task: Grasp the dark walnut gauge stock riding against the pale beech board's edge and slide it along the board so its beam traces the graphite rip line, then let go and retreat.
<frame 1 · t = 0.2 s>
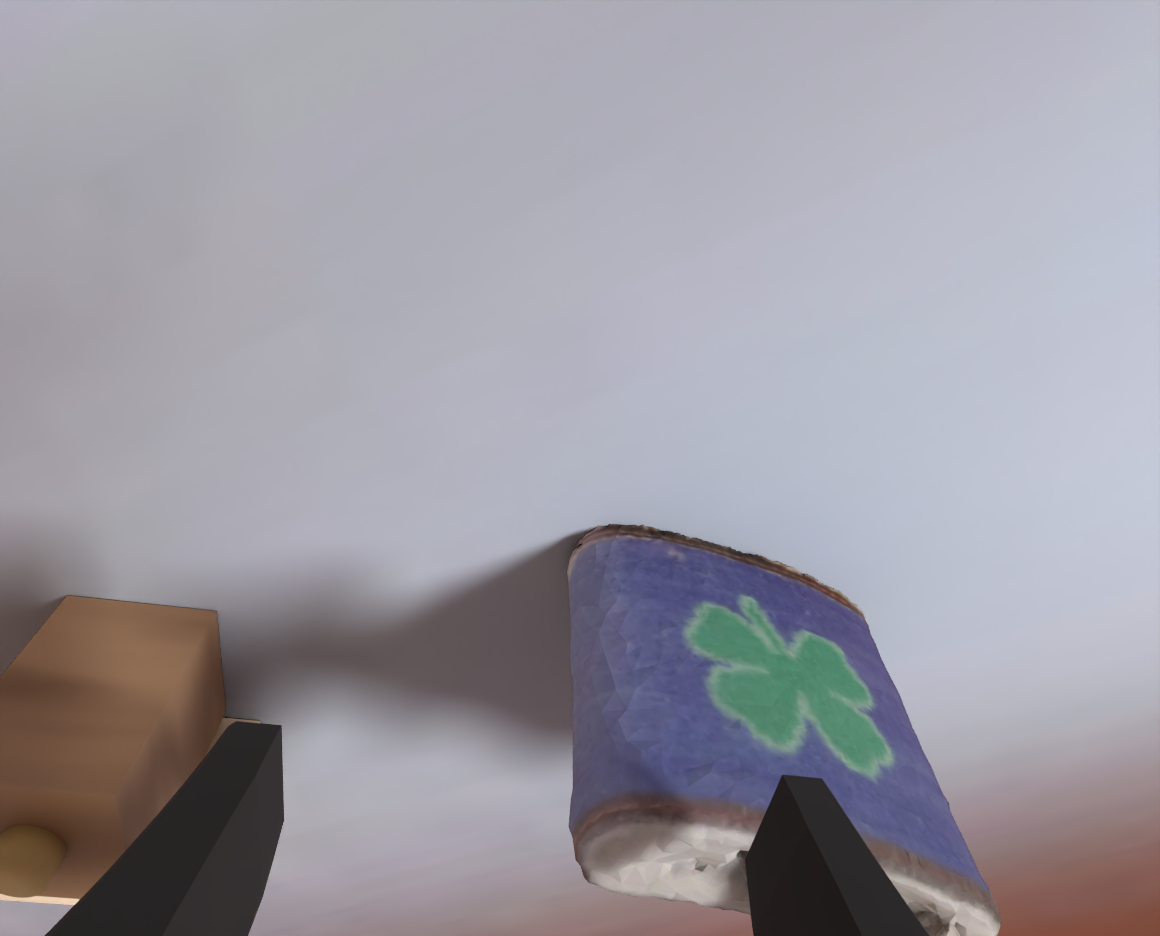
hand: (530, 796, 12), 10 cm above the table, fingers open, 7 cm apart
flask: (723, 586, 23), on the table
gauge: (110, 837, 22), point 3 cm above the table, slide at 0.0 cm
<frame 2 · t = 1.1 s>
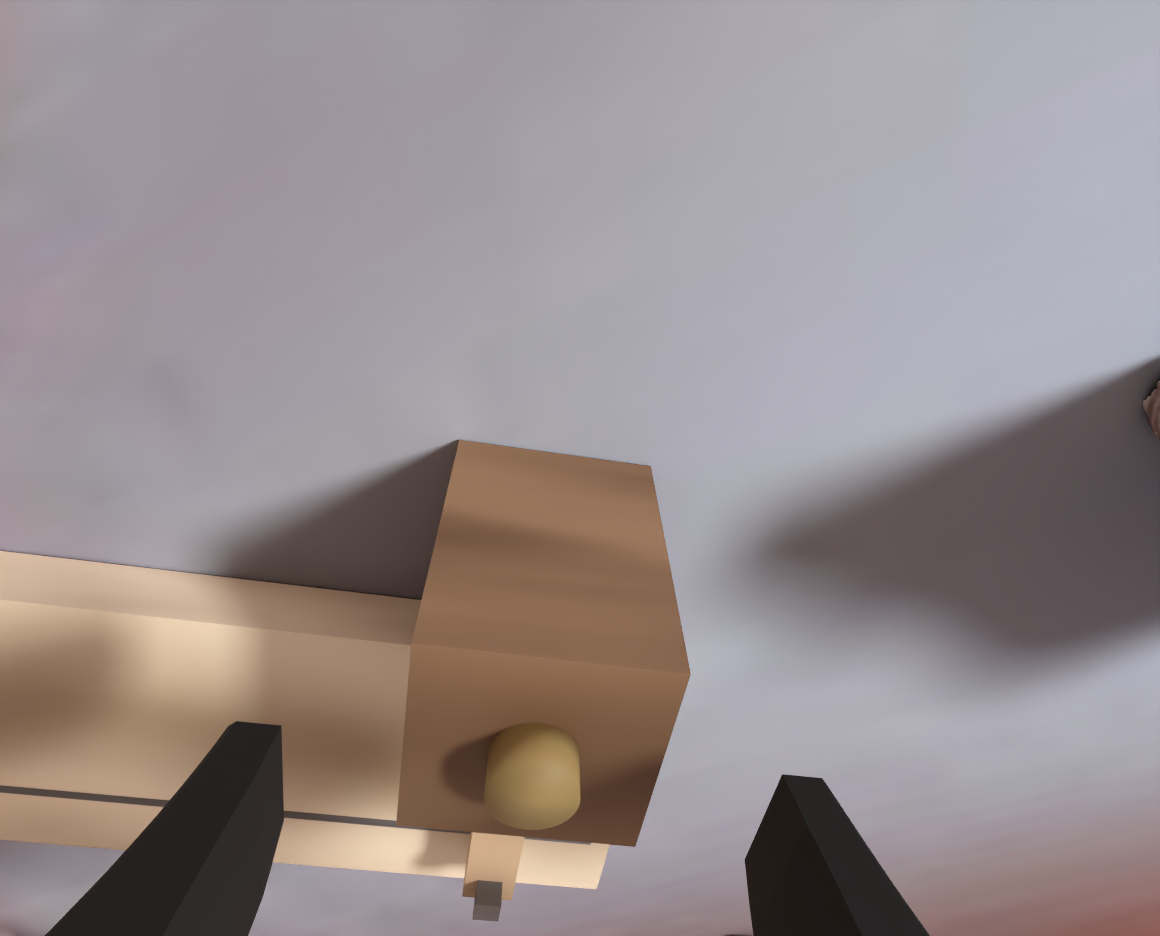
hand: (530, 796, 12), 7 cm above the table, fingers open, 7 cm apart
board: (268, 707, 20), on the table
gauge: (514, 767, 16), point 3 cm above the table, slide at 0.0 cm
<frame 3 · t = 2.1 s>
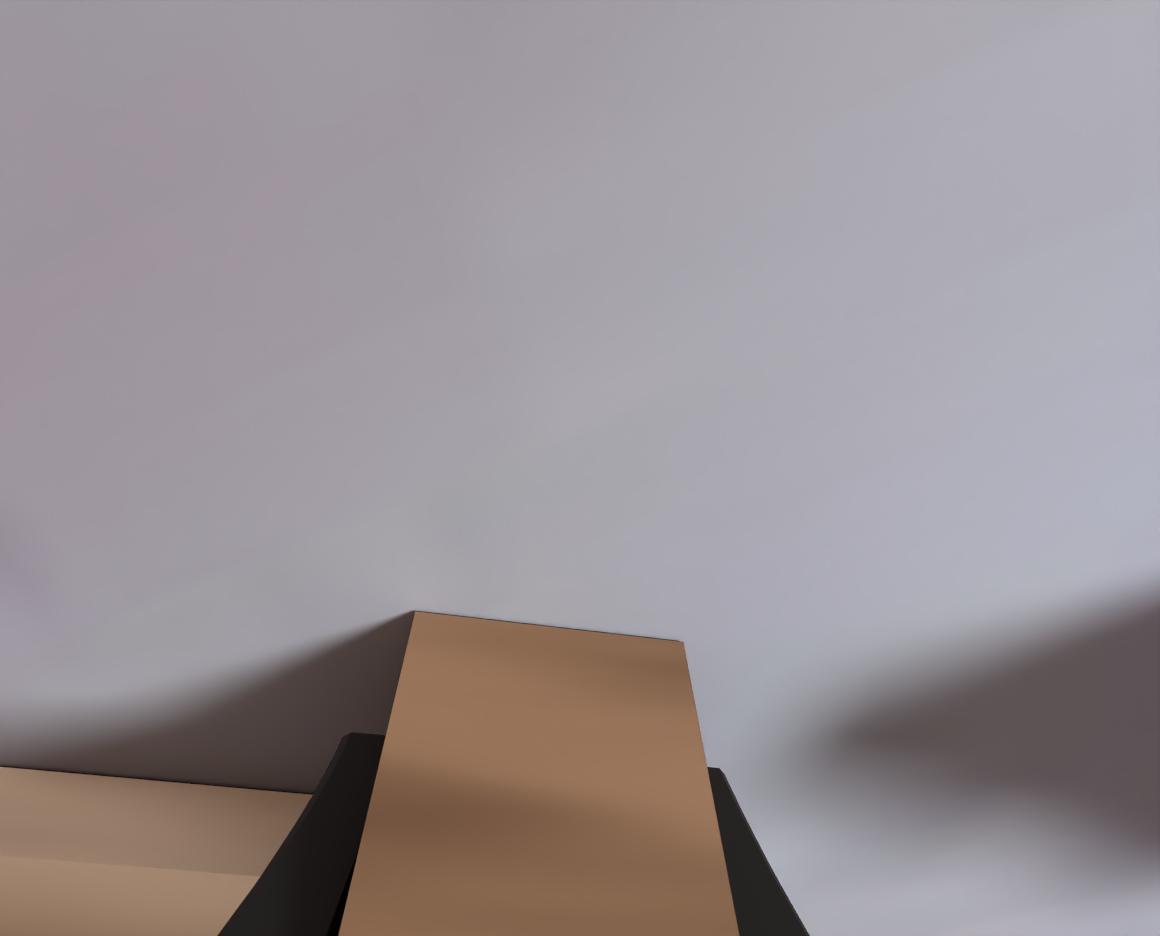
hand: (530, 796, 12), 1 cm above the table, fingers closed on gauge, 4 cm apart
board: (176, 918, 15), on the table
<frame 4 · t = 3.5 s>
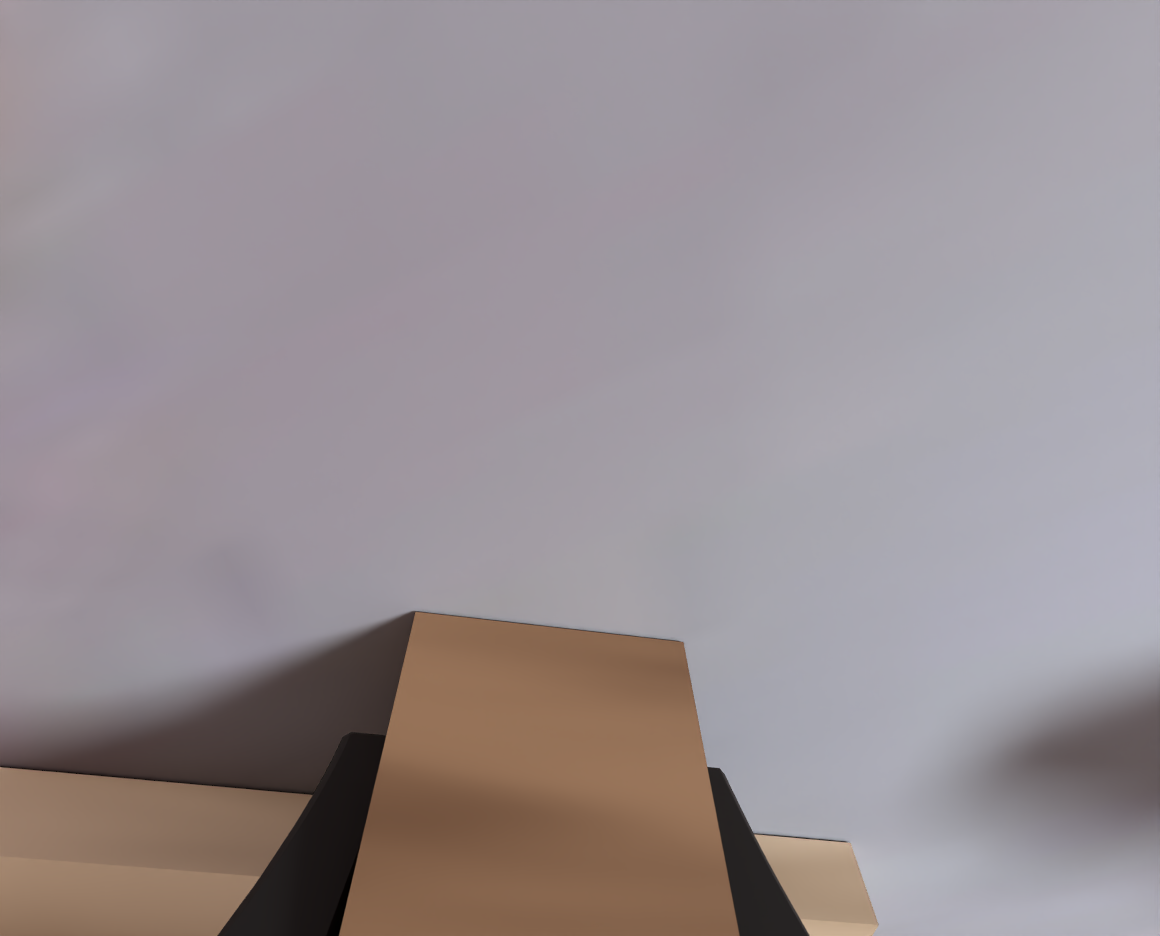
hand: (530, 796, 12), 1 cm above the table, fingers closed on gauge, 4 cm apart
board: (344, 930, 16), on the table
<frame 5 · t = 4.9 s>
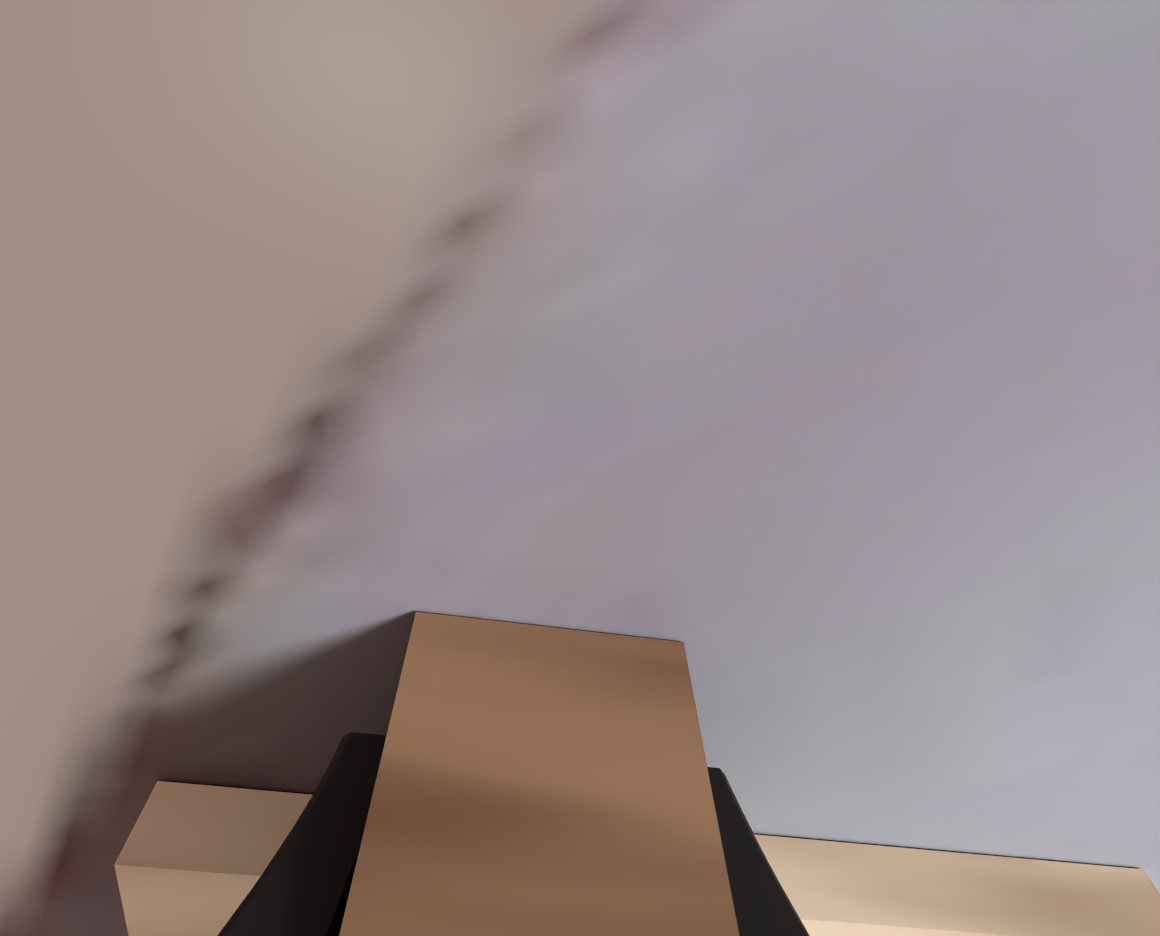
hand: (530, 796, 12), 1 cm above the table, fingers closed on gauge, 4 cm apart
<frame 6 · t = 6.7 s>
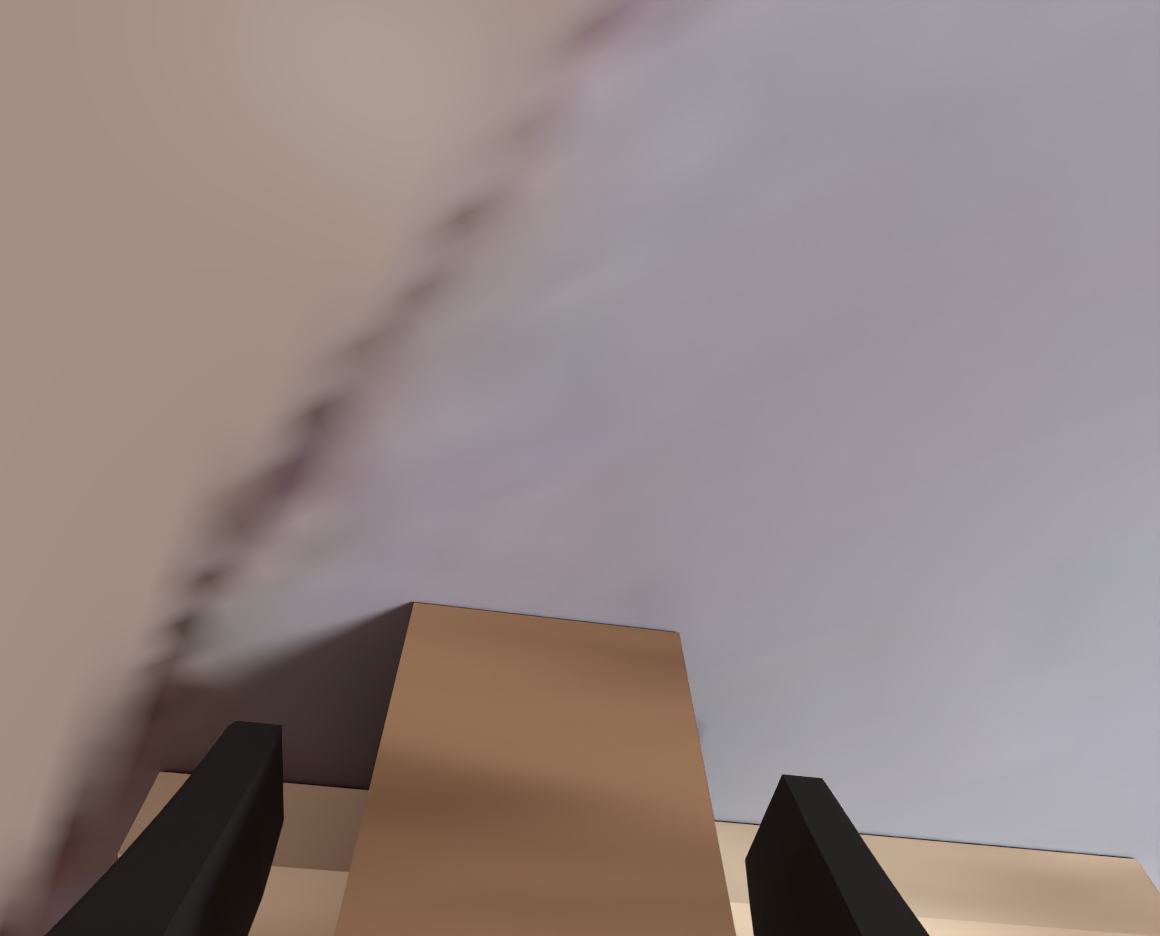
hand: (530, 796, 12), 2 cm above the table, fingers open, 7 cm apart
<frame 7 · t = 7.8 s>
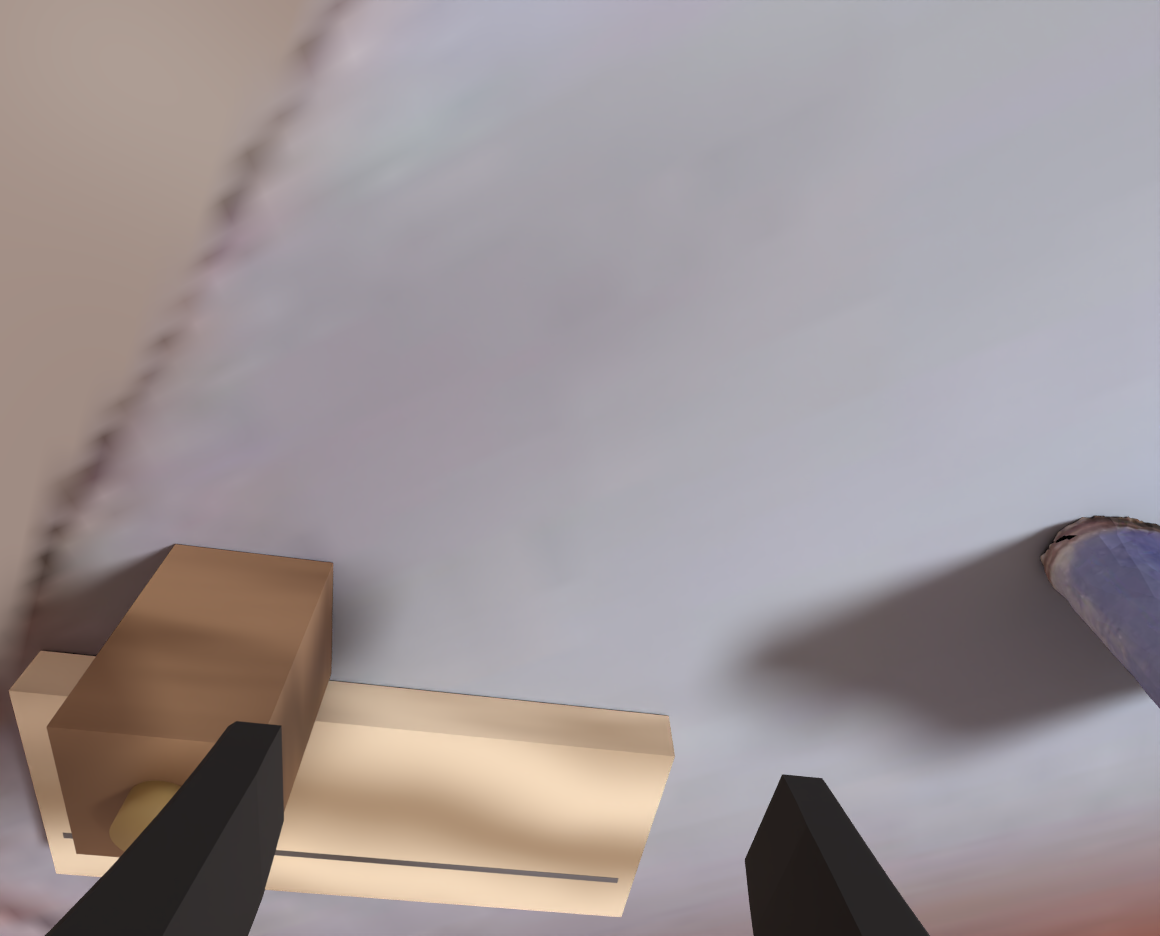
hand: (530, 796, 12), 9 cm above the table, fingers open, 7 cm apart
board: (362, 775, 25), on the table
gauge: (219, 803, 21), point 3 cm above the table, slide at 9.0 cm
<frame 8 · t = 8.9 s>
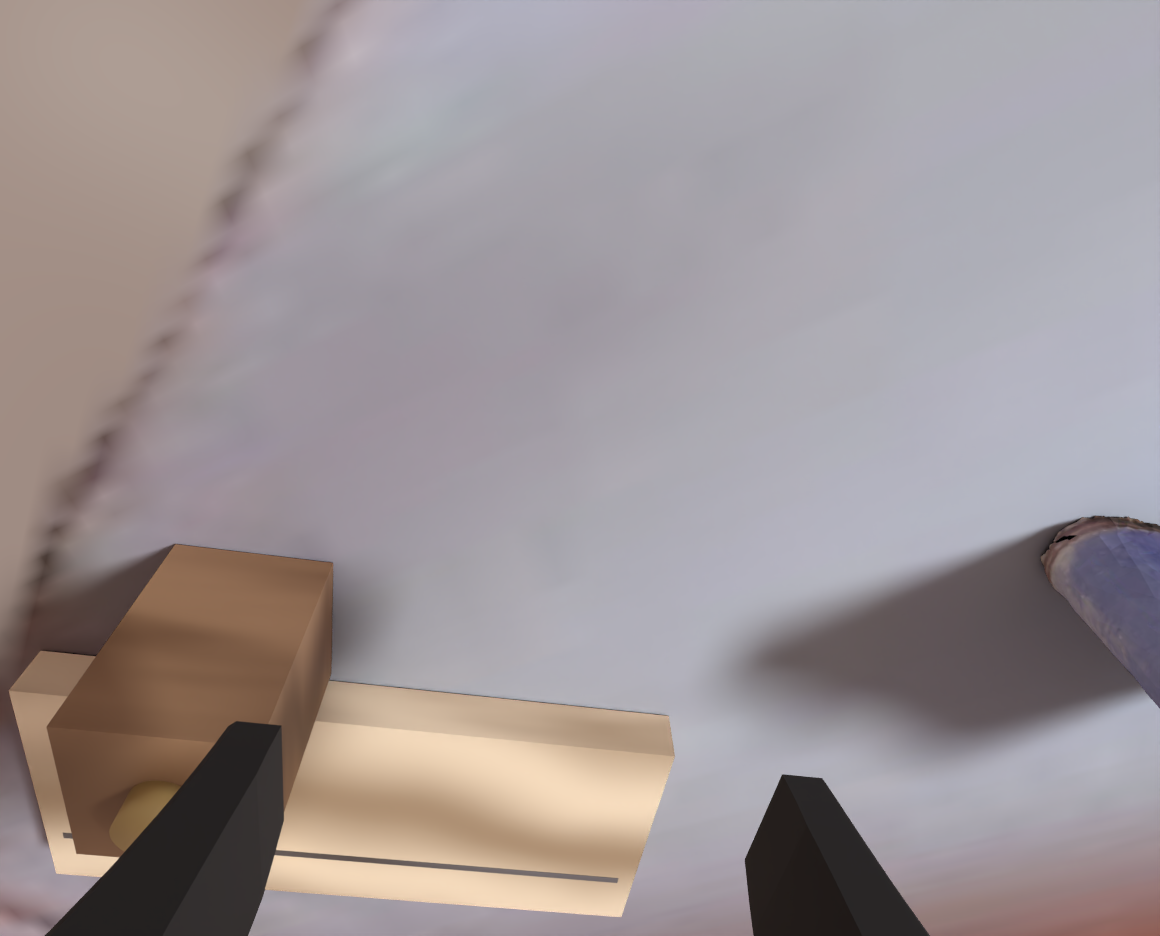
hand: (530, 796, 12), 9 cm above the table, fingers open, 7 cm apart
board: (362, 775, 25), on the table
gauge: (219, 803, 21), point 3 cm above the table, slide at 9.0 cm
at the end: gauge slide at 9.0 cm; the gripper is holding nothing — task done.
